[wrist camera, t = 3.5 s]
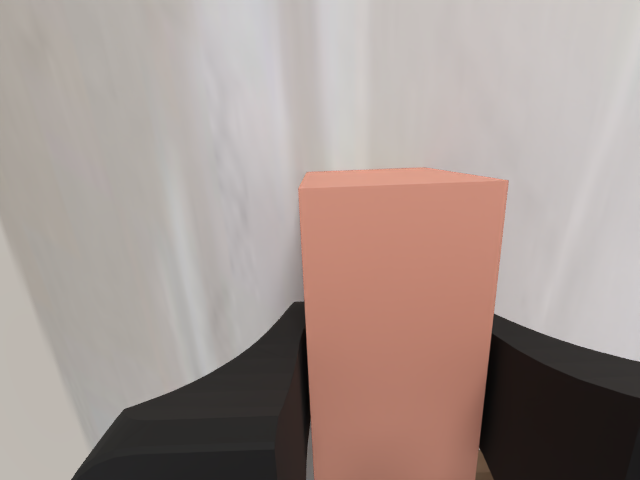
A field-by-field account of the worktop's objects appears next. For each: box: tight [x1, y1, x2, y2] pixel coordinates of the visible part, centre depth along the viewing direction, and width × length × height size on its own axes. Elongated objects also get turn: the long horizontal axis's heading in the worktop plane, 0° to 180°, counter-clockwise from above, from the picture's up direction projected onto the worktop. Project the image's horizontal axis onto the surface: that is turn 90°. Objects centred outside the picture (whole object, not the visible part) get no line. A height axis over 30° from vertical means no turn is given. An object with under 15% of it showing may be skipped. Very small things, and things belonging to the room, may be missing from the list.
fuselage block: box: [298, 168, 509, 480], centre depth 10 cm, size 4×10×5 cm, turn 2°
